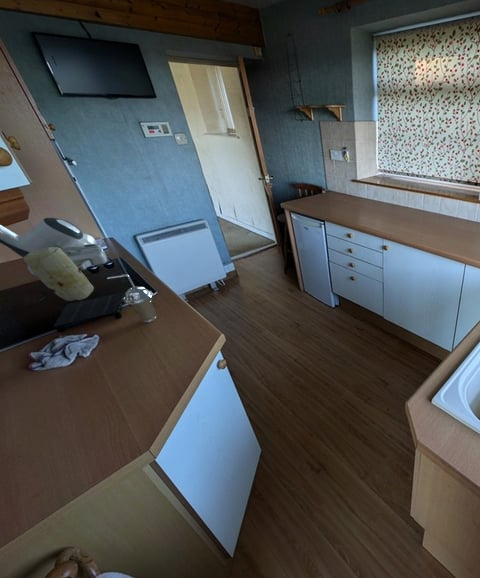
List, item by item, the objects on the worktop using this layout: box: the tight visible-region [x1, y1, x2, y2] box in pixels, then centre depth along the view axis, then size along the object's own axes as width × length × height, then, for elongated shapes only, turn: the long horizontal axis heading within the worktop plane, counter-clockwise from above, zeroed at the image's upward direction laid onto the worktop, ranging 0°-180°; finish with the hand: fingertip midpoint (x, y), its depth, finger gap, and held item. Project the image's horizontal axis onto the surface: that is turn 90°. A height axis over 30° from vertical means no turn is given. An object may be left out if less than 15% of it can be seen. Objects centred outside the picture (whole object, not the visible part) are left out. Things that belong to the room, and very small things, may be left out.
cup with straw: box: [106, 274, 158, 324], centre depth 105 cm, size 8×9×20 cm
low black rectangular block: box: [52, 291, 126, 334], centre depth 112 cm, size 18×16×3 cm
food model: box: [22, 247, 95, 302], centre depth 99 cm, size 10×7×20 cm
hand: (63, 270), depth 100 cm, fingers closed on food model, 8 cm apart
